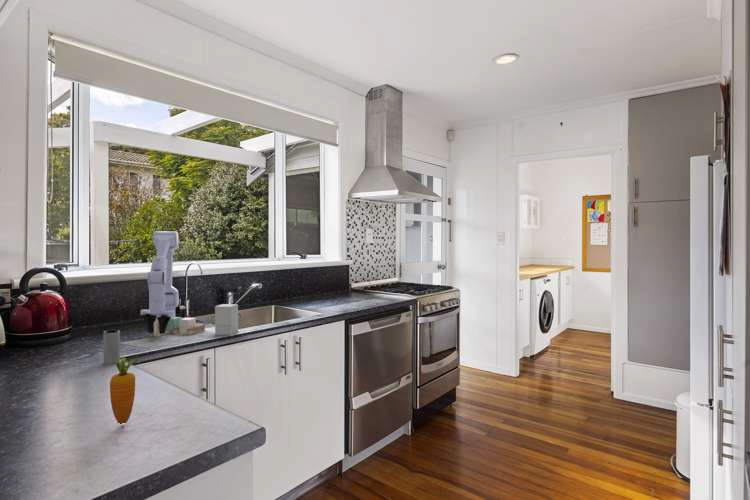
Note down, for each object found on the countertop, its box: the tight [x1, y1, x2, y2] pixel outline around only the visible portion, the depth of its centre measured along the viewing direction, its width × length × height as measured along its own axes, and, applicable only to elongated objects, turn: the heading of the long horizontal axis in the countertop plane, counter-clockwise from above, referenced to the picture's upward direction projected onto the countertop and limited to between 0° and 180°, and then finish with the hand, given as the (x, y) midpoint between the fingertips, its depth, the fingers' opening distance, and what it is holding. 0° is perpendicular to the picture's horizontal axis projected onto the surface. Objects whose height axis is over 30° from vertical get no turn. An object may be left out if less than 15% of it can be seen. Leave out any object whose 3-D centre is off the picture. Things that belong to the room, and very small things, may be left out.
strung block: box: [153, 316, 183, 338], centre depth 177 cm, size 4×13×6 cm, turn 166°
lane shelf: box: [167, 323, 206, 336], centre depth 181 cm, size 15×10×3 cm, turn 76°
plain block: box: [179, 317, 197, 334], centre depth 179 cm, size 4×4×6 cm
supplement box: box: [214, 303, 239, 337], centre depth 180 cm, size 7×7×13 cm
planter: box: [103, 329, 121, 365], centre depth 137 cm, size 4×4×10 cm
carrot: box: [109, 357, 136, 424], centre depth 90 cm, size 5×5×15 cm
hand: (157, 333), depth 172 cm, fingers open, 5 cm apart
